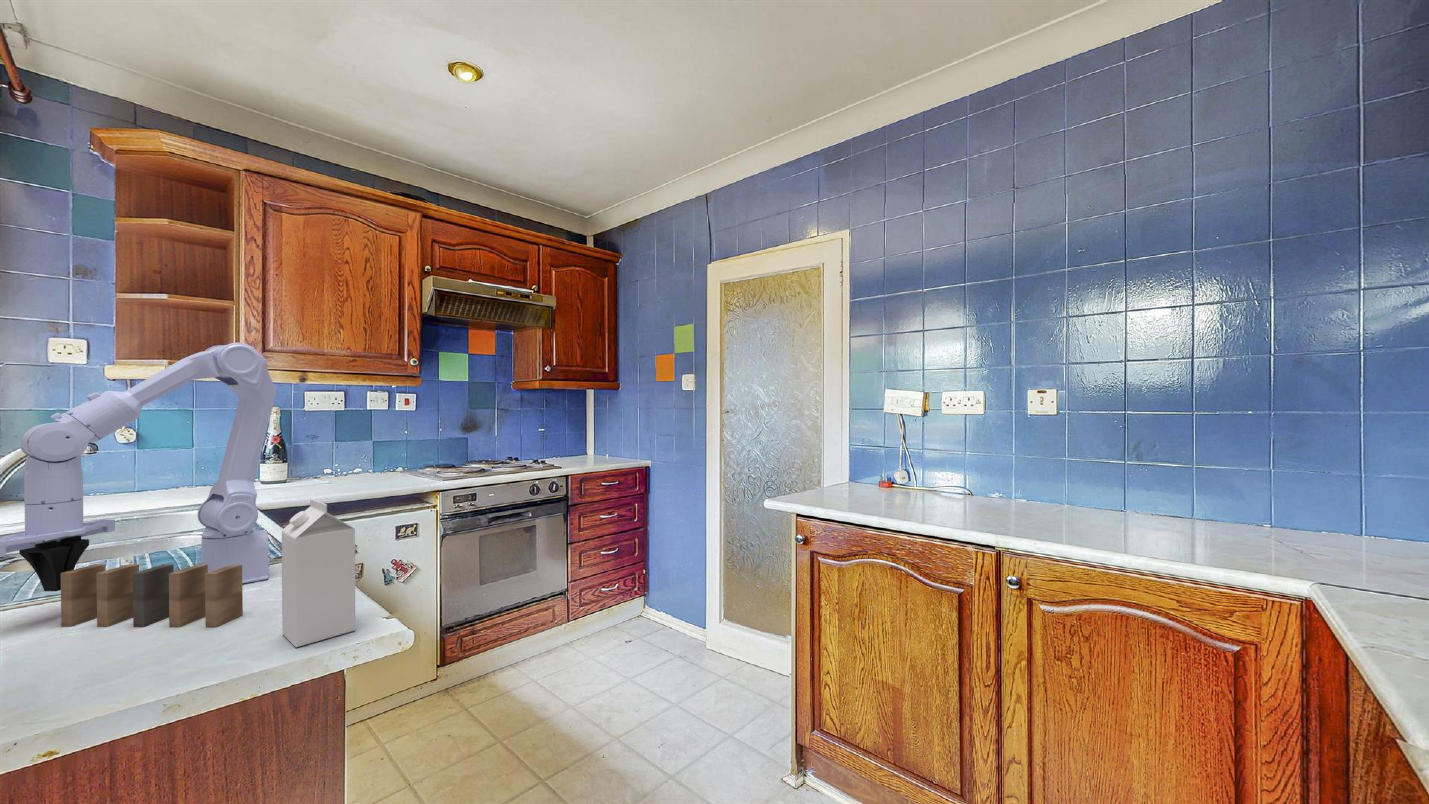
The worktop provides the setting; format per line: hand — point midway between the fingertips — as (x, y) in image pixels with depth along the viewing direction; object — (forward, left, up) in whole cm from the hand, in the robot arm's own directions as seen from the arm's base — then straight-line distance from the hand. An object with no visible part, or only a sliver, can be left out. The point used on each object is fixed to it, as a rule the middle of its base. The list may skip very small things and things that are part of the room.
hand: (55, 589), depth 83 cm
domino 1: (-3, +3, -5) cm, 6 cm away
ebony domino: (-11, +11, -5) cm, 16 cm away
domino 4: (-19, +19, -5) cm, 27 cm away
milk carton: (-28, +34, -5) cm, 45 cm away
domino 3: (-15, +15, -5) cm, 21 cm away
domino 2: (-7, +7, -5) cm, 11 cm away
